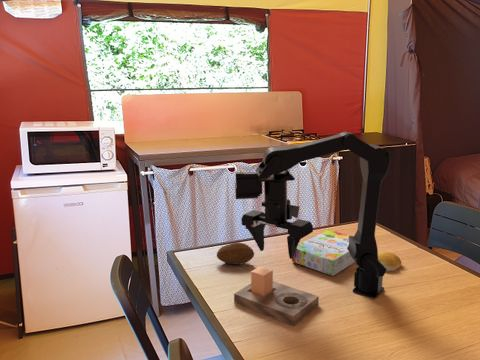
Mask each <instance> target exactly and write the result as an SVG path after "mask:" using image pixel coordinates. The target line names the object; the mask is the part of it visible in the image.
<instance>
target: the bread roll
mask: <svg viewBox="0 0 480 360" xmlns="http://www.w3.org/2000/svg"><path fill="white" fill-rule="evenodd" d="M378 260H379V261H380V262H381V263H382V264H383V266H384V267H385V268H386V269H387V270H386V272H394V271H396V270H397V269H399V268H400V267H401V266H402V260H401V258H400V257H399V256H398V255H397V254H395V253H392V252H387V251H385V252H380V253H378Z"/></svg>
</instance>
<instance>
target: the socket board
mask: <svg viewBox="0 0 480 360" xmlns="http://www.w3.org/2000/svg"><path fill="white" fill-rule="evenodd" d="M319 297H320V296H319V295H316V294H313V293H311V292H307V291H304V290H301V289H298V288H295V287H293V286H289V285H286V284H283V283H280V282H277V281H275V280H274V281H273V292H271V293H270V294H268V295H267V296H266V297H262V296H259V295H257V294H254V293H251V283H250V284H248V285H245V286H244V287H243V288H242V289H239V290H238V291H236V292H235V293H233V302H234V304H236V305H238V306H239V305H240V306H242V307H244V308H247V309H250V310H253V311H255V312H258V313H259V314H263V315H264V316H267V317H270V318H272V319H275V320H278V321H279V322H282V323H285V324H288V325H290V326H293V327H294V326H295V325H297V324H298V323H299V322H300V321H301V320H302V319H304V318H305V317H307V315H309V313H311V312H312V311H313V310H315V309H316V308H317V307H318V306H319V301H320V299H319Z"/></svg>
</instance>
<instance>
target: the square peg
mask: <svg viewBox="0 0 480 360" xmlns="http://www.w3.org/2000/svg"><path fill="white" fill-rule="evenodd" d="M273 277H274V271H273V269H270V268H267V267H264V266H257V268H255V269H253V270H251V272H250V284H251V293H254V294H257V295H259V296H262V297H266V296H267V295H268V294H270V293H271V292H273V280H274V279H273Z"/></svg>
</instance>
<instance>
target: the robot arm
mask: <svg viewBox="0 0 480 360" xmlns="http://www.w3.org/2000/svg"><path fill="white" fill-rule="evenodd" d="M346 150H347V151H350V152H352V153H353V154H355V155H357V156H358V157H359V167H360V171H361V176H362V187H361V193H360V194H361V196H360V205H359V213H358V220H357V221H358V222H357V223H358V224H357V229H356V232H355V234H354V235H350V236H349V245H348V247H347V249H348V251H349V253H350V255H351V257H352V258H353V260H354V261H355V262H354V263H355V265H357V267H356V269H355V270H356V271H355V272H354V274H353V275H354V276H353V280H354V281H353V287H354V288H353V289H352V292H353V293H357V294H360V295H363V296H366V297H369V298H373V299H377V298H378V296H379V295H381V294H382V292H383V291H385V287H383V278H384V276H385V275H386V272H387V271H386V270H387V269H386V268H385V267H384V266H383V264H382V263H381V262H380V261H379V260H378V254H379V253H378V245H377V239H376V228H377V227H376V226H377V220H378V210H379V202H380V194H381V186H382V182H383V180H384V178H385V177H386V175H387V174H388V171H389V167H390V164H391V160H392V159H391V154H390V153H389V151H388V150H387V149H385V148H384V147H381V146H379V145H377V144H374V143H366V142H365V141H363V140H361V139H360V138H358V137H356V136H355V134H353V133H352V132H349V131H342V132H341V133H338V134H335V135H331V136H327V137H326V136H325V137H323V138H320V139H315V140H311V141H308V142H305V143H302V144H296V145H277V146H271V147H268V148H267V149H266V150H265V151H264V152H263V154H262V161H261V162H260V163H259V164H258V166H257V168H256V169H255V171H252V172H251V171H249V172H242V171H236V172H235V182H234V194H235V195H234V196H235V200H249V199H250V200H251V199H259V197H261V195H262V194H263V193H264V194H263V195H264V198H263V199H264V200H263V201H261V207H264V211H260V210H255V209H253V210H251V211H248V212H246V213H244V214H242V217H241V219H240V220H241V225H242V226H243V227H244V228H245V229H246V230H248V232H249V233H250V235H251V237H252V238H253V240H254V241H255V244H256V246H257V247H258V249H259V251H260V252H263V251H264V250H265V228H266V226H269V227H270V226H271V227H275V228H279V229H284V230H287V233H288V236H286V241H287V251H288V258H289V259H291V260H292V258H293V257H294V254H295V251H296V249H297V246H298V244H300V241H301V240H302V239H304V238H305V237H307V236H309V235H310V234H312V233H313V232H314V226H313V223H312V222H311V221H310V220H305V219H298V217H299V213H300V212H299V211H300V206H298V205H293V204H291V200H290V199H288V190H287V189H288V187H287V186H288V181H295V179H296V178H295V177H294V174H292V173H290V171H289V170H290V169H292V168H294V167H295V166H297V165H299V164H300V163H303V162H306V161H308V160H312V159H316V158H319V157H324V156H328V155H331V154H335V153H339V152H342V151H346ZM263 185H264V187H263ZM263 188H264V191H263ZM293 218H295V219H297V220H295V221H292V222H291V221H288V220H292V219H293Z"/></svg>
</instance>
